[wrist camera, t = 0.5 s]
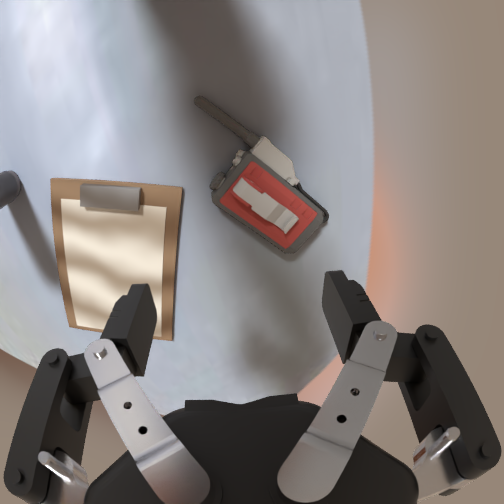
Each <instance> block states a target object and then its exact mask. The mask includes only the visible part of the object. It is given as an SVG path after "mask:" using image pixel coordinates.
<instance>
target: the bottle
mask: <svg viewBox="0 0 504 504" xmlns="http://www.w3.org/2000/svg"><path fill="white" fill-rule="evenodd" d="M20 189H21V183H20V179H19V177H18V175H17V174H16V173H15V172H13V171H4V172H2V173H0V209H1V208H3V207H4V206H6V205H7V204H9V203H10V202H12V201H13V200H14V199H15V198H16V196H17V195H18V194H19V192H20Z"/></svg>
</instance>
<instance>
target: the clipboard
mask: <svg viewBox="0 0 504 504" xmlns="http://www.w3.org/2000/svg"><path fill="white" fill-rule="evenodd" d="M182 188H183V187H176V186H166V185H156V184H145V183H133V182H120V181H105V180H89V179H69V178H52V179H51V207H52V221H53V233H54V243H55V251H56V259H57V266H58V272H59V278H60V284H61V290H62V295H63V300H64V305H65V310H66V314H67V319H68V323H69V327H72V328H78V329H84V330H90V331H96V332H103V330H104V328H105V325H106V323H107V320H108V318H109V316H110V314H111V312H112V309H113V307H114V305H115V302H116V301H117V300H118V299H119V298H120V297H121V296H122V295H127V294H128V292H129V289H130V287H131V285H132V284H145V283H148V284H149V286H150V289H151V293H152V296H153V300H154V303H155V307H156V310H157V324H156V328H155V332H154V335H153V339H158V340H169V341H172V322H173V297H174V279H175V263H176V250H177V237H178V226H179V216H180V206H181V197H182Z"/></svg>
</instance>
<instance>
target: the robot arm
mask: <svg viewBox="0 0 504 504" xmlns="http://www.w3.org/2000/svg"><path fill="white" fill-rule="evenodd" d="M322 307H323V311H324V314H325V317H326V319H327V322H328V325H329V327H330V330H331V333H332V335H333V338H334V341H335V344H336V346H337V349H338V352H339V355H340V357H341V360H342V363H343V364H345V365H344V367H343V369H342V371H341V372H340V374H339V376H338V378H337V380H336V382H335V384H334V385H333V387H332V389H331V391H330V393H329V394H328V396H327V398H326V400H325V401H324V403H323V405H322V407H320V406H318V405H315V404H312V403H309V402H304V401H298V397H297V393H295V394H287V395H278V396H269V397H266V398H262V399H259V400H256V401H252V402H249V403H245V404H233V403H227V402H221V401H216V400H185V408H181V409H178V410H175V411H173V412H171V413H169V414H167V415H165V416H164V417H161V416H160V414H159V413H158V412H157V410H156V409H155V407H154V406H153V404H152V403H151V402H150V400H149V399H148V397H147V396H146V394H145V393H144V391H143V390H142V388H141V387H140V385H139V383H138V382H137V380H136V379H135V376H144V374H145V369H146V365H147V360H148V356H149V352H150V348H151V344H152V340H153V335H154V332H155V328H156V324H157V310H156V307H155V303H154V300H153V296H152V293H151V289H150V286H149V284H148V283H145V284H132V285H131V287H130V289H129V292H128V294H127V295H122V296H121V297H120V298H119V299H118V300H117V301H116V302H115V305H114V307H113V309H112V312H111V314H110V316H109V318H108V320H107V323H106V325H105V328H104V330H103V332H102V335H101V337H100V339H98V340H96V341H93V342H92V343H90V344H89V345H88V346H87V348H86V349H85V352H84V353H82V354H78V355H73V356H68V355H67V353H66V352H65V351H64V350H63V349H59V348H57V349H52V350H50V351H48V352H47V353H46V354H45V355H44V356H43V357H42V359H41V362H40V364H39V366H38V369H37V371H36V374H35V376H34V379H33V381H32V384H31V386H30V389H29V392H28V394H27V397H26V400H25V402H24V405H23V408H22V411H21V414H20V417H19V420H18V423H17V427H16V430H15V433H14V436H13V440H12V443H11V447H10V451H9V454H8V458H7V462H6V467H5V471H4V482H5V485H6V487H7V489H8V490H9V491H10V492H11V493H12V494H13V495H15V496H17V497H19V498H21V499H22V500H24V501H25V502H27V503H28V504H417V502H419V501H422V500H425V499H427V498H430V497H432V496H435V495H437V494H439V495H442V496H447V495H450V494H452V493H454V492H456V491H458V490H459V489H461V488H463V487H464V486H466V485H467V484H469V483H471V482H472V481H474V480H475V479H477V478H478V477H479V476H481V475H483V474H484V473H486V472H487V471H488V470H490V469H491V468H492V467H494V466H495V465H496V464H497V463H498V461H499V459H500V456H501V446H500V442H499V440H498V438H497V435H496V433H495V431H494V428H493V426H492V424H491V421H490V419H489V417H488V415H487V413H486V411H485V408H484V406H483V404H482V402H481V400H480V398H479V396H478V394H477V392H476V390H475V388H474V386H473V384H472V382H471V381H470V378H469V377H468V375H467V373H466V371H465V369H464V367H463V365H462V364H461V362H460V360H459V358H458V357H457V355H456V353H455V351H454V350H453V348H452V346H451V344H450V343H449V341H448V339H447V338H446V336H445V335H444V333H443V331H441V330H440V329H439V328H438V327H436V326H433V325H422V326H420V327H419V328H418V329H417V330H416V333H415V334H409V333H399V332H397V331H396V329H395V328H394V327H393V326H392V325H391V324H389V323H387V322H384V321H381V319H380V317H379V315H378V313H377V312H376V310H375V308H374V306H373V305H372V303H371V301H369V298H368V296H367V295H366V293H365V291H364V289H363V287H362V286H361V285H360V284H358V283H357V282H356V281H354V280H348V279H347V277H346V275H345V274H344V272H343V271H342V270H338V271H327V272H326V273H325V278H324V287H323V295H322ZM383 381H389V382H398V384H399V387H400V389H401V392H402V394H403V397H404V400H405V403H406V405H407V408H408V411H409V414H410V416H411V419H412V422H413V425H414V428H415V431H416V434H417V437H418V440H419V445H418V446H417V447H416V449H415V451H414V454H413V460H414V466H413V470H411V469H410V468H409V467H408V466H407V465H406V464H404V463H402V462H401V461H399V460H398V459H396V458H395V457H393V456H392V455H390V454H389V453H387V452H386V451H384V450H383V449H381V448H380V447H378V446H377V445H375V444H374V443H372V442H371V441H369V440H368V439H366V438H365V437H363V436H362V435H361V432H362V430H363V428H364V426H365V424H366V422H367V419H368V417H369V415H370V412H371V410H372V407H373V405H374V403H375V400H376V398H377V395H378V393H379V390H380V388H381V385H382V382H383ZM96 400H102V402H103V404H104V406H105V408H106V410H107V412H108V414H109V416H110V418H111V420H112V422H113V424H114V425H115V427H116V429H117V431H118V433H119V435H120V436H121V438H122V440H123V442H124V443H125V445H126V447H127V448H128V450H127V451H126V452H125V453H124V454H123V455H122V456H121V457H120V458H119V459H118V460H116V461H115V462H114V463H113V464H112V465H111V466H110V467H109V468H108V469H107V470H105V471H104V472H103V473H102V474H101V475H100V476H99V477H98V478H97V479H95V480H94V481H93V482H92V483H91V485H90V486H89V484H88V479H87V473H86V471H85V469H84V468H83V467H82V466H81V461H82V455H83V449H84V443H85V438H86V433H87V427H88V423H89V418H90V412H91V409H92V404H93V401H96Z"/></svg>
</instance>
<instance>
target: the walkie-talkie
mask: <svg viewBox="0 0 504 504" xmlns="http://www.w3.org/2000/svg"><path fill="white" fill-rule="evenodd" d="M194 102H195V104H196V105H197V106H199V107H200V108H201V109H203V110H204V111H206V112H207V113H208V114H210V115H211V116H213V117H214V118H215V119H217V120H218V121H220V122H221V123H222V124H224V125H225V126H226V127H228V128H229V129H230V130H232V131H233V132H234V133H236V134H237V135H238V136H240V137H241V138H242V139H244V142H245V143H247V144H248V145H249V146H250V147H252V148H251V149H250V150H249V151H244V150H243V151H242V150H241V149H239V150H238V151H237V153H236V157H235V158H234V159H233V161H232V163H233V166H232V167H231V168H230V169H229V171H228V172H227V173H226V174H225V175H224V173H223V172H219V173H218V174H217V175H216V176H215V178H214V179H213V181H212V182H211V184H210V188H211V189H212V190H213V191H212V192H211V193H212V201H213V203H214V204H215V205H216V206H218V207H219V208H221V209H223V210H224V211H225V212H227V213H228V214H230V215H231V216H232V217H234V218H235V219H236V220H238V221H240V222H241V223H243V224H244V225H247V226H248V227H249V228H251V229H252V230H253V231H255V232H256V233H257V234H260V236H263V238H264V239H267V241H270V242H271V244H274V246H275V247H276V246H277V247H278V249H281V251H284V252H285V253H295V252H296V251H297V250H298V249H299V248H300V247H301V246H302V245H303V244H304V243H305V241H306V240H307V239H308V238H309V237H310V236H311V235H312V234H313V233H314V231H315V230H316V229H317V228H318V227H319V226H320V225H321V223H324V222H326V221H327V220H328V218H329V214H328V212H327V210H326V209H324V208H323V207H322V206H321V205H320V204H319V203H318V202H316V201H315V200H314V199H313V198H312V197H311V196H309V195H308V194H307V193H306V192H305V191H304V190H303V189H302V187H301V184H300V183H299V182H300V181H299V180H298V179H297V178H296V177H295V172H294V167H293V163H292V161H291V160H290V159H289V158H288V157H287V156H286V155H284V154H283V153H282V152H281V151H280V150H279V149H277V148H276V147H275V146H274V145H273V144H271V142H270V140H269V139H267V138H266V137H265V136H263V135H262V136H261V137H260V138H259V137H258V136H257V135H255V134H254V133H253V132H249V131H248V130H247V129H245V128H244V127H243V126H241V125H240V124H239V123H238V122H236V121H235V120H234V119H232V118H231V117H230V116H228V115H227V114H226V113H224V112H223V111H221V110H220V109H219V108H217V107H216V106H215V105H213V104H212V103H210V102H209V101H208V100H206V99H205V98H203V97H202V96H198V97H196V98H195V100H194ZM294 184H295V185H297V187H298V189H299V190H297V189H296V188H295V187H294V186H293V185H294ZM319 208H320V209H321V210H322V211H323V212H324V214H325V216H324V217H323V212H322V211H321V210H320V209H319Z"/></svg>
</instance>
